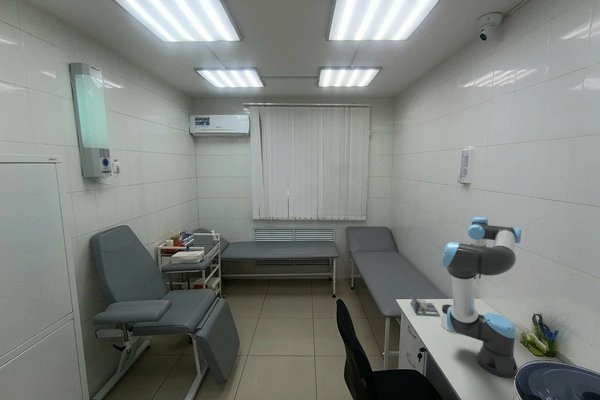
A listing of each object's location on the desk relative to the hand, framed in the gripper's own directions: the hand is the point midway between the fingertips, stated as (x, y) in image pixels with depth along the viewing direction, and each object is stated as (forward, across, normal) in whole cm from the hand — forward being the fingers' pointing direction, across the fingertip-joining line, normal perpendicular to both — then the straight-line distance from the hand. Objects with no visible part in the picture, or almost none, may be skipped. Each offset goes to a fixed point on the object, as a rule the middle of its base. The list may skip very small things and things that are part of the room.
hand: (476, 283), depth 154 cm
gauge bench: (+25, +23, -15) cm, 37 cm away
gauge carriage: (+23, +24, -13) cm, 36 cm away
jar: (+26, +15, +4) cm, 30 cm away
